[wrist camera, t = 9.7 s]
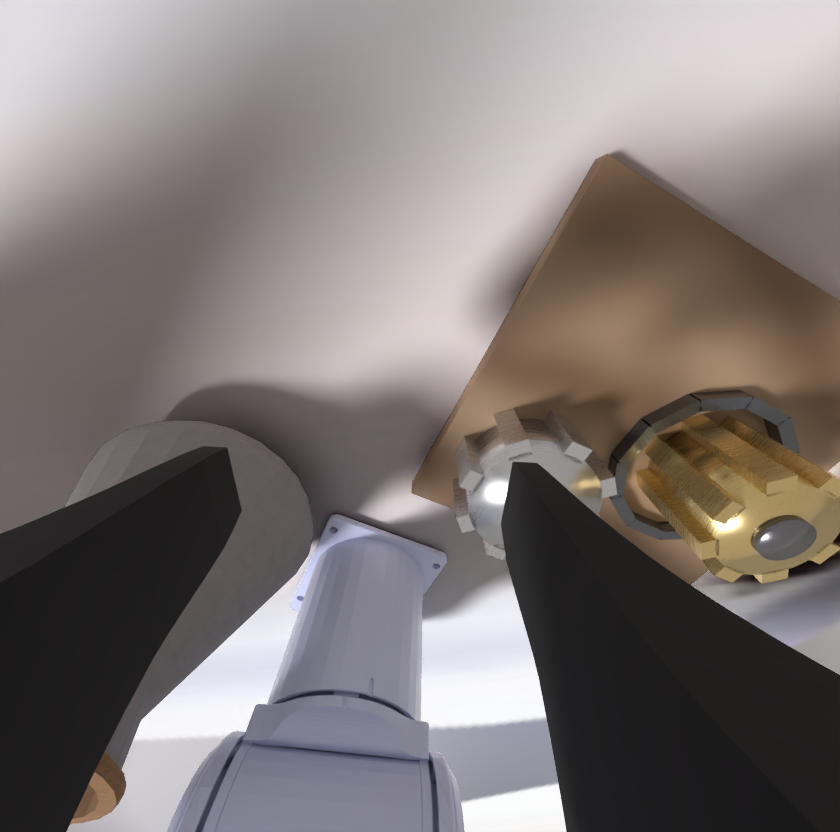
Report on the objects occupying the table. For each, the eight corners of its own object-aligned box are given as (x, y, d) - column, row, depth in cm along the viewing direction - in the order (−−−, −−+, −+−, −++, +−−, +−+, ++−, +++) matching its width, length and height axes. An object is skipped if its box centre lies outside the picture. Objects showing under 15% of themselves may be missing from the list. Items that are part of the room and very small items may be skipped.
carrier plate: (668, 582, 24) (677, 595, 23) (412, 482, 21) (411, 492, 20) (921, 363, 17) (949, 370, 16) (595, 159, 14) (607, 154, 13)
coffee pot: (136, 363, 18) (-763, 745, 4) (353, 445, 20) (189, 889, 6) (116, 612, 27) (-202, 990, 13) (266, 652, 28) (122, 1019, 15)
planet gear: (696, 518, 20) (781, 606, 15) (613, 484, 19) (676, 566, 14) (779, 439, 18) (911, 514, 13) (689, 396, 17) (795, 459, 12)
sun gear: (538, 536, 21) (558, 589, 18) (429, 493, 20) (429, 542, 16) (618, 441, 18) (659, 485, 15) (495, 384, 17) (511, 418, 14)
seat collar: (693, 547, 21) (702, 558, 20) (573, 497, 20) (579, 506, 19) (822, 433, 18) (839, 442, 17) (687, 361, 16) (699, 367, 15)
